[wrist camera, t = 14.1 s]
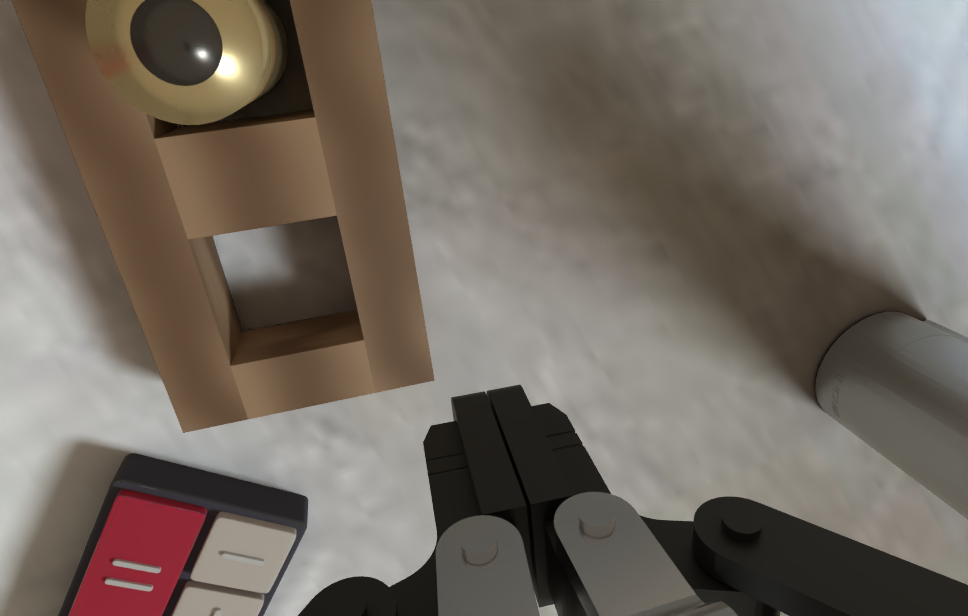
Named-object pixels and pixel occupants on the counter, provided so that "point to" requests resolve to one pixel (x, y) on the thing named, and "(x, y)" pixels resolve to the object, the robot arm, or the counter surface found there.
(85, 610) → the calculator
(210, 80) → the yellow cylinder
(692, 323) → the counter surface
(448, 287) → the counter surface
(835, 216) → the counter surface
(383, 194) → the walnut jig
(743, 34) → the counter surface
